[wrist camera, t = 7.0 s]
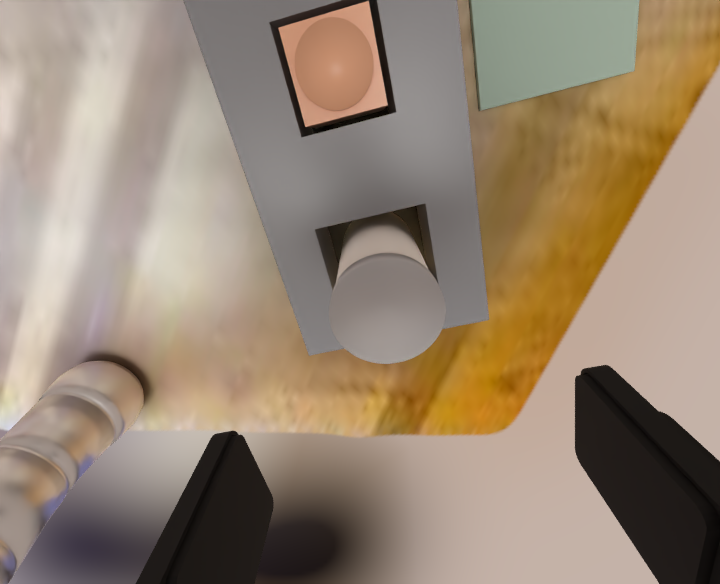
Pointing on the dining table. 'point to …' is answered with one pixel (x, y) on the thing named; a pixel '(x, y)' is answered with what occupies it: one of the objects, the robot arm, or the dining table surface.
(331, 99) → the square push button
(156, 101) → the dining table surface
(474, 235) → the housing
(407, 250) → the cylinder
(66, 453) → the plastic bottle
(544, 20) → the mat
